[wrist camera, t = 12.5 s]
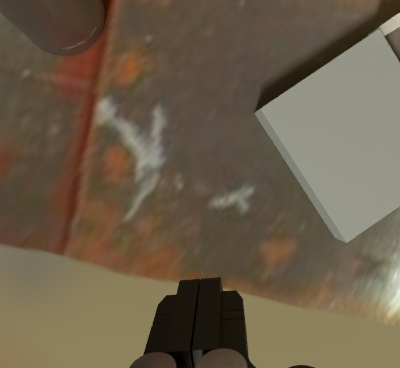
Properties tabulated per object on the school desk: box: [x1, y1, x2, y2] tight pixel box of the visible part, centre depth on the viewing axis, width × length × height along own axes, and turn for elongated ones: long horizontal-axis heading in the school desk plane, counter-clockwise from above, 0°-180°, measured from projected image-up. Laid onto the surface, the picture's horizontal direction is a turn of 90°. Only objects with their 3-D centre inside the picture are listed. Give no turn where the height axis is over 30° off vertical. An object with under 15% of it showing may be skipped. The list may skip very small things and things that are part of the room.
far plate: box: [255, 29, 400, 243], centre depth 41 cm, size 18×16×3 cm
